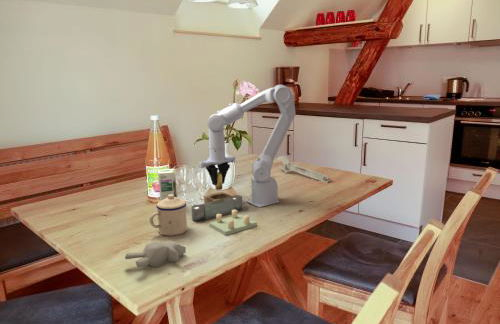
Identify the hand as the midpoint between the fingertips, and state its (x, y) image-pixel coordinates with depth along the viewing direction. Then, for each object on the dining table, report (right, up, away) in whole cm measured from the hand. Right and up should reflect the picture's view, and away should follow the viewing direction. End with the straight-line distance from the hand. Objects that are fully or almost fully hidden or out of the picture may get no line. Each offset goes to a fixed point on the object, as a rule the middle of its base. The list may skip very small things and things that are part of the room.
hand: (218, 183), depth 147 cm
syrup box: (-18, -9, -2) cm, 20 cm away
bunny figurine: (-12, -19, -42) cm, 48 cm away
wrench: (+36, +1, +37) cm, 51 cm away
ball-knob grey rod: (+1, -10, -9) cm, 13 cm away
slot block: (0, -8, +2) cm, 8 cm away
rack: (+6, -12, -19) cm, 24 cm away
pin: (0, -2, 0) cm, 2 cm away
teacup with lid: (-14, -14, -23) cm, 30 cm away
